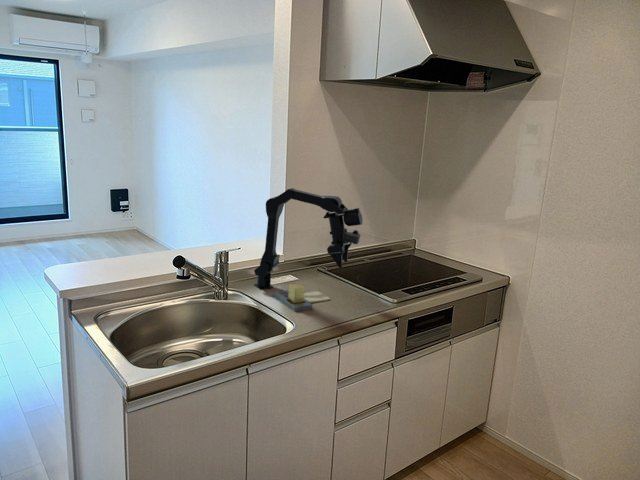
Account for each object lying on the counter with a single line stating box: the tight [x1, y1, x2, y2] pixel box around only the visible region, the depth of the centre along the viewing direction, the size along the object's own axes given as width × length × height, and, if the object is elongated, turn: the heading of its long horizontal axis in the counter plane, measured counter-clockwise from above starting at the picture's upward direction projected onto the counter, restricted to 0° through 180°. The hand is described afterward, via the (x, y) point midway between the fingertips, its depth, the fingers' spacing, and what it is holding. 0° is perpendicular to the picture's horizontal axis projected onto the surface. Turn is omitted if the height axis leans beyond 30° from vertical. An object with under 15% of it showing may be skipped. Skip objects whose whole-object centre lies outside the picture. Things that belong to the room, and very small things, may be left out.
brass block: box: [288, 283, 306, 305], centre depth 195 cm, size 4×4×8 cm
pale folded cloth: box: [304, 290, 331, 304], centre depth 205 cm, size 10×10×1 cm
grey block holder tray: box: [272, 289, 313, 312], centre depth 198 cm, size 18×8×2 cm, turn 34°
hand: (343, 264), depth 201 cm, fingers open, 9 cm apart
